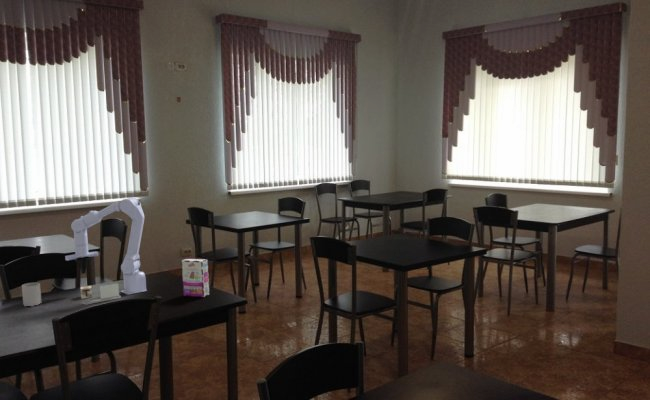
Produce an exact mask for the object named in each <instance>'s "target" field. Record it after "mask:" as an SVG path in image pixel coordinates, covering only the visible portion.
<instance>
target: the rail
mask: <svg viewBox="0 0 650 400" xmlns="http://www.w3.org/2000/svg"><path fill="white" fill-rule="evenodd" d="M121 298H122V295H120V294H119V296H116V297H111V298H106V299H100V298H97V299H93V300H87V301H83V302H82V305H85V306H87V305H91V304H97V303H101V302H106V301H108V302H109V301H112V300H116V299H121Z"/></svg>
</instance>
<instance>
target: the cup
mask: <svg viewBox="0 0 650 400" xmlns="http://www.w3.org/2000/svg"><path fill="white" fill-rule="evenodd" d="M41 291H42V290H41V283H40V282H27V283H24V284H22V285H21V295H22V303H23V306H24V307H26V306H31V307H35V306H34V305H37V306H39V305H38V304H40V303H41V304H42V293H41ZM41 304H40V305H41Z"/></svg>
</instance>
